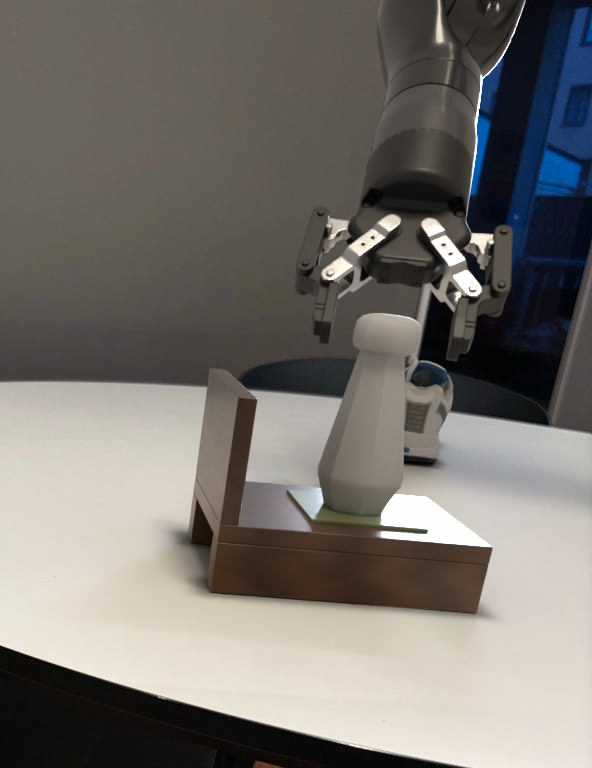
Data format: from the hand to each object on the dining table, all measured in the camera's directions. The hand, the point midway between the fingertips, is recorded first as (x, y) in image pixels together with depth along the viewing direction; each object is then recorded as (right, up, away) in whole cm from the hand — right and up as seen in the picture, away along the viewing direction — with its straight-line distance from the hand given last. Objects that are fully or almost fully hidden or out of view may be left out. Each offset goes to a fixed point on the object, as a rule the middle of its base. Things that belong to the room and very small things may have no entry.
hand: (389, 344), depth 68 cm
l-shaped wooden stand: (-4, -15, +5) cm, 16 cm away
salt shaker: (-2, -11, +3) cm, 11 cm away
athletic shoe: (+17, +4, +56) cm, 58 cm away
